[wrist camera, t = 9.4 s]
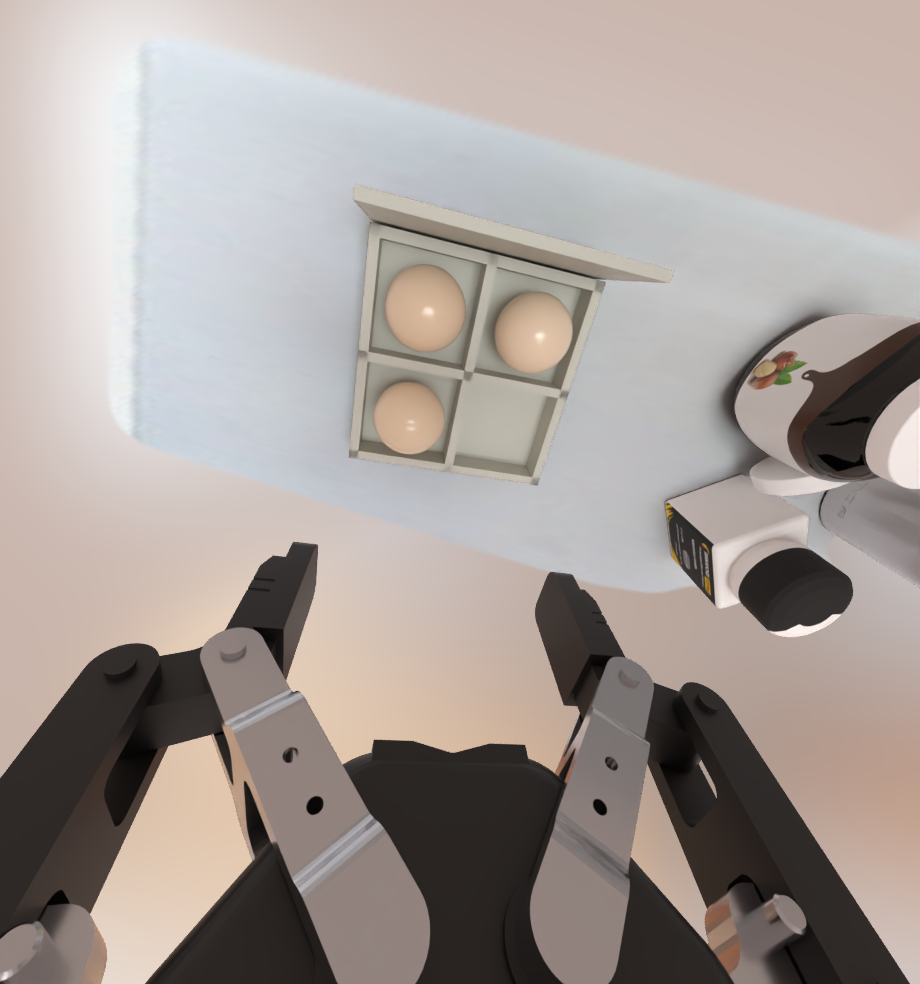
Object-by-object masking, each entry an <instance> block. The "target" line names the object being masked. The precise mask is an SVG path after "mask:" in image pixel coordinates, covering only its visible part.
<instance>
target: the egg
mask: <svg viewBox="0 0 920 984" xmlns="http://www.w3.org/2000/svg"><path fill="white" fill-rule="evenodd" d="M373 422H374V427H375V430H376V433H377V435H378V436H379V438H380V439H381V441H382V442H383V443H384V444H385V445H386V446H388V447H389V448H390V449H392V450H394V451H396V452H399V453H403V454H418V453H421V452H424V451H426V450H428V449H429V448H431V447H432V446H433V445H434V444H435V443H436V442H437V441H438V440H439V438H440V436H441V434H442V432H443V430H444V426H445V412H444V408H443V405H442V403H441V401H440V399H439V398H438V396H437V395H436V394H435V393H434V392H433V391H432V390H431V389H429V388H428V387H426V386H424V385H422V384H420V383H416V382H401V383H397V384H395V385H392V386H391V387H389V388H387V389H386V390H385V391H384V392H383V393H382V394H381V395H380V397H379V398H378V400H377V402H376V404H375V407H374V412H373Z"/></svg>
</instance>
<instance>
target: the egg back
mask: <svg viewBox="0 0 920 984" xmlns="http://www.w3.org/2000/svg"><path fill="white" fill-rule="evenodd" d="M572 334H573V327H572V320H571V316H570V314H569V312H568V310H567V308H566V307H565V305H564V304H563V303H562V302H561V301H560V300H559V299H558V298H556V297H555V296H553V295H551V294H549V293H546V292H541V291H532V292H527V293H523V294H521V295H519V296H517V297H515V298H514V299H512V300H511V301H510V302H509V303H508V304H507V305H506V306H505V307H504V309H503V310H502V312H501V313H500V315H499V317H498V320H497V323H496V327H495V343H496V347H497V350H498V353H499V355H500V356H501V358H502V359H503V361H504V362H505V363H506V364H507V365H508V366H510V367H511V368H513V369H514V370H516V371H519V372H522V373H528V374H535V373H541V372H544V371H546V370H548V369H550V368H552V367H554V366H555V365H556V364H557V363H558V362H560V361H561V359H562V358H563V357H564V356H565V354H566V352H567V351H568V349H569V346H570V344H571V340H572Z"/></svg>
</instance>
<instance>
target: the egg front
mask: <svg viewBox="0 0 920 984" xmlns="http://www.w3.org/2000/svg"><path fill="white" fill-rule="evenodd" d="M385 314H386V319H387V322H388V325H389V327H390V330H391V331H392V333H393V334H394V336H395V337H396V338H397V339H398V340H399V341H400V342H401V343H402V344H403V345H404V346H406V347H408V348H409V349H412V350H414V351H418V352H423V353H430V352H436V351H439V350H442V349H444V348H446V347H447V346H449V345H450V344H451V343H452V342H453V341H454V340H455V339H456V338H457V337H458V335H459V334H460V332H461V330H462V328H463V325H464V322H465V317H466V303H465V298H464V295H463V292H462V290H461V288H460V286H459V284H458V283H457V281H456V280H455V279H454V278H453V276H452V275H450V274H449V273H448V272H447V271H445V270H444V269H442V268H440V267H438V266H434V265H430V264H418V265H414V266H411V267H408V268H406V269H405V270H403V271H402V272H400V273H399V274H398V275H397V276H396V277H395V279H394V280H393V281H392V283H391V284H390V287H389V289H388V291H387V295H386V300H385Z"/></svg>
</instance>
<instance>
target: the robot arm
mask: <svg viewBox="0 0 920 984" xmlns="http://www.w3.org/2000/svg"><path fill="white" fill-rule="evenodd" d="M820 515H821V521H822V523H823V525H824V526H825V527H826V528H827V529H828V530H829V531H831V532H832V533H834V534H835V535H837V536H838V537H840V538H842V539H843V540H845V541H846V542H848V543H850V544H851V545H853V546H854V547H856V548H857V549H859V550H861V551H862V552H864V553H865V554H867V555H868V556H870V557H872V558H873V559H875V560H876V561H878V562H879V563H881V564H883V565H884V566H886V567H887V568H889V569H890V570H892V571H894V572H895V573H897V574H898V575H900V576H902V577H903V578H905V579H906V580H908V581H910V582H911V583H913V584H914V585H916V586H917V587H919V588H920V489H909V488H905V487H902V486H899V485H897V484H895V483H893V482H890V481H888V480H886V479H884V478H881V477H880V478H876V479H871V480H866V481H859V482H850V483H847V484H845V485H842V486H840V487H836V488H833V489H830V490H829V491H828V492H827V494H826V496H825V498H824V500H823V503H822V506H821V512H820ZM317 557H318V545H316V544H309V543H308V544H307V543H299V542H293V543H292V545H291V547H290V549H289V552H288V554H287V556H286V557H281V556H272V557H271V558H269V559H268V560H267V561H266V562H264V563H263V564H262V565H261V566H260V567H259V569H258V571H257V573H256V575H255V576H254V579H253V580H252V582H251V584H250V586H249V588H248V590H247V591H246V593H245V595H244V596H243V598H242V600H241V602H240V604H239V606H238V607H237V609H236V611H235V613H234V615H233V617H232V618H231V620H230V622H229V624H228V626H227V628H226V629H225V630H224V631H222V632H220V633H218V634H216V635H214V636H213V637H212V638H210V639H209V640H208V641H207V642H206V643H205V645H204V646H203V647H200V648H198V649H195V650H191V651H186V652H180V653H175V654H169V655H163V656H159V654H158V652H157V651H156V649H155V648H153V647H152V646H149V645H146V644H138V643H136V644H135V643H134V644H126V645H122V646H118V647H115V648H112V649H110V650H108V651H106V652H104V653H102V654H100V655H99V656H97V657H96V658H94V659H93V660H92V661H91V662H90V663H89V664H88V665H87V666H86V667H85V668H84V669H83V671H82V672H81V673H80V675H79V676H78V677H77V679H76V680H75V681H74V683H73V684H72V685H71V687H70V688H69V689H68V691H67V692H66V693H65V694H64V696H63V697H62V698H61V700H60V701H59V702H58V704H57V705H56V706H55V708H54V709H53V710H52V712H51V713H50V714H49V715H48V717H47V718H46V720H45V721H44V722H43V723H42V725H41V726H40V727H39V728H38V730H37V731H36V733H35V734H34V735H33V736H32V738H31V739H30V740H29V742H28V743H27V744H26V746H25V747H24V748H23V749H22V751H21V752H20V753H19V755H18V756H17V757H16V759H15V760H14V761H13V762H12V764H11V765H10V767H9V768H8V769H7V770H6V772H5V773H4V774H3V776H2V777H1V778H0V984H101V982H102V978H103V975H104V971H105V967H106V961H107V950H106V945H105V942H104V940H103V938H102V936H101V934H100V932H99V931H98V929H97V927H96V925H95V923H94V921H93V919H92V917H91V916H90V913H91V911H92V908H93V906H94V904H95V902H96V900H97V898H98V896H99V894H100V891H101V889H102V887H103V885H104V883H105V881H106V879H107V876H108V874H109V872H110V870H111V868H112V866H113V864H114V861H115V859H116V857H117V855H118V853H119V851H120V849H121V846H122V844H123V842H124V840H125V838H126V835H127V833H128V831H129V829H130V827H131V825H132V823H133V821H134V818H135V816H136V814H137V812H138V810H139V808H140V806H141V803H142V801H143V799H144V797H145V795H146V792H147V790H148V788H149V786H150V784H151V782H152V779H153V778H154V775H155V773H156V771H157V769H158V767H159V765H160V763H161V760H162V758H163V756H164V754H165V752H166V750H167V748H168V746H170V745H174V744H178V743H181V742H185V741H189V740H192V739H196V738H200V737H204V736H208V735H211V736H212V739H213V742H214V744H215V747H216V750H217V753H218V756H219V759H220V761H221V764H222V767H223V770H224V773H225V775H226V778H227V781H228V784H229V787H230V790H231V792H232V795H233V799H234V803H235V807H236V812H237V816H238V820H239V823H240V826H241V829H242V833H243V836H244V838H245V841H246V844H247V847H248V850H249V853H250V856H251V858H252V862H251V864H250V865H249V866H248V867H247V868H246V869H245V870H244V871H243V872H242V874H241V875H240V876H239V877H238V878H237V879H236V880H235V882H234V883H233V884H232V885H231V886H230V887H229V888H228V890H227V891H226V892H225V893H224V894H223V895H222V896H221V898H220V899H219V900H218V901H217V902H216V903H215V904H214V906H213V907H212V908H211V909H210V910H209V911H208V912H207V913H206V915H205V916H204V917H203V918H202V919H201V920H200V921H199V923H198V924H197V925H196V926H195V927H194V928H193V929H192V931H191V932H190V933H189V934H188V935H187V936H186V937H185V938H184V940H183V941H182V942H181V943H180V944H179V945H178V946H177V948H176V949H175V950H174V951H173V952H172V953H171V954H170V955H169V957H168V958H167V959H166V960H165V961H164V963H163V964H162V965H161V966H160V967H159V968H158V969H157V970H156V971H155V973H154V974H153V975H152V976H151V977H150V978H149V980H148V981H147V982H146V983H145V984H910V983H909V982H908V980H907V979H906V977H905V976H904V974H903V973H902V971H901V969H900V968H899V966H898V965H897V963H896V962H895V960H894V959H893V957H892V956H891V954H890V953H889V951H888V950H887V948H886V946H885V945H884V944H883V942H882V940H881V939H880V938H879V936H878V934H877V933H876V931H875V930H874V928H873V927H872V925H871V924H870V922H869V921H868V919H867V917H866V916H865V915H864V913H863V911H862V910H861V908H860V907H859V905H858V904H857V902H856V901H855V899H854V898H853V896H852V895H851V893H850V892H849V890H848V888H847V887H846V886H845V884H844V883H843V881H842V879H841V878H840V876H839V875H838V873H837V872H836V870H835V869H834V867H833V866H832V864H831V863H830V861H829V859H828V858H827V856H826V855H825V853H824V852H823V850H822V849H821V848H820V846H819V844H818V843H817V841H816V840H815V838H814V837H813V835H812V834H811V832H810V830H809V829H808V827H807V826H806V824H805V823H804V821H803V820H802V818H801V817H800V815H799V814H798V812H797V811H796V809H795V807H794V806H793V805H792V803H791V801H790V800H789V798H788V797H787V795H786V794H785V792H784V791H783V789H782V788H781V786H780V785H779V783H778V782H777V780H776V779H775V777H774V776H773V774H772V772H771V771H770V769H769V768H768V766H767V765H766V763H765V762H764V760H763V759H762V757H761V756H760V754H759V752H758V751H757V749H756V748H755V746H754V745H753V744H752V742H751V740H750V739H749V737H748V736H747V734H746V733H745V731H744V730H743V728H742V727H741V725H740V724H739V722H738V720H737V719H736V718H735V716H734V714H733V713H732V711H731V710H730V708H729V707H728V706H727V704H726V703H725V701H724V700H723V699H722V698H721V697H719V695H717V694H716V693H715V692H714V691H712V690H711V689H709V688H707V687H705V686H704V685H701V684H698V683H694V682H689V683H686V684H684V685H683V686H682V688H681V689H680V691H679V692H678V691H675V690H673V689H670V688H667V687H664V686H661V685H658V684H656V683H653V681H652V679H651V677H650V676H649V674H648V673H647V672H646V671H645V670H644V669H643V668H642V667H641V666H640V665H638V664H637V663H636V662H634V661H632V660H630V659H627V658H626V657H625V656H624V654H623V652H622V650H621V648H620V646H619V644H618V642H617V641H616V639H615V637H614V635H613V633H612V631H611V630H610V627H609V625H607V624H606V623H607V622H606V620H605V618H604V616H603V615H602V614H601V613H602V612H601V610H600V609H599V607H598V605H597V603H596V601H595V600H594V599H593V598H592V597H591V596H590V595H589V594H588V593H587V592H586V591H585V590H580V588H579V586H578V584H577V582H576V580H575V578H574V577H573V575H571V574H565V573H556V572H550V573H549V574H548V576H547V578H546V581H545V583H544V586H543V589H542V591H541V593H540V596H539V599H538V601H537V604H536V608H535V617H536V622H537V625H538V628H539V632H540V634H541V638H542V641H543V644H544V647H545V650H546V652H547V655H548V659H549V662H550V665H551V667H552V671H553V674H554V677H555V680H556V683H557V686H558V689H559V692H560V695H561V698H562V701H563V704H564V705H567V706H578V709H579V712H580V713H579V715H578V717H577V719H576V721H575V723H574V726H573V729H572V731H571V734H570V736H569V739H568V741H567V744H566V747H565V750H564V752H563V755H562V757H561V759H560V762H559V765H558V767H557V769H556V771H555V773H554V772H552V771H551V770H550V769H548V768H547V767H545V766H543V765H542V764H540V763H538V762H536V761H533V760H531V759H528V756H527V751H526V748H525V745H513V744H511V745H510V744H487V745H483V746H480V747H475V748H472V749H468V750H464V751H460V752H456V753H450V752H446V751H443V750H440V749H437V748H434V747H430V746H427V745H424V744H421V743H417V742H414V741H395V740H374V742H373V747H372V753H369V754H365V755H362V756H359V757H357V758H355V759H352V760H350V761H348V762H347V763H345V764H343V765H342V763H341V761H340V760H339V758H338V756H337V754H336V752H335V751H334V749H333V747H332V745H331V744H330V742H329V740H328V738H327V736H326V735H325V733H324V731H323V729H322V727H321V726H320V724H319V722H318V721H317V718H316V717H315V715H314V713H313V711H312V710H311V708H310V706H309V705H308V702H307V701H306V699H305V697H304V696H303V695H302V693H301V692H299V691H295V692H293V691H292V690H291V689H290V687H289V686H288V684H287V682H286V679H287V676H288V673H289V670H290V667H291V664H292V660H293V658H294V655H295V652H296V648H297V646H298V643H299V640H300V637H301V633H302V630H303V627H304V624H305V621H306V618H307V615H308V612H309V609H310V606H311V603H312V600H313V596H314V592H315V586H316V574H317ZM701 760H702V762H703V764H704V766H705V768H706V769H707V771H708V773H709V775H710V777H711V779H712V781H713V783H714V785H715V788H716V792H717V799H716V797H715V795H714V793H713V791H712V789H711V787H710V785H709V783H708V781H707V779H706V777H705V775H704V774H703V771H702V770H701V768H700V766H699V764H698V763H699V762H700V761H701ZM647 764H648V766H649V768H650V771H651V773H652V776H653V778H654V781H655V783H656V785H657V788H658V790H659V792H660V795H661V797H662V800H663V803H664V805H665V807H666V810H667V812H668V815H669V817H670V820H671V822H672V824H673V826H674V829H675V832H676V834H677V837H678V839H679V842H680V843H681V846H682V849H683V851H684V854H685V856H686V858H687V861H688V863H689V866H690V868H691V871H692V873H693V876H694V878H695V880H696V883H697V885H698V888H699V890H700V893H701V895H702V898H703V900H704V902H705V905H706V907H707V911H706V915H705V929H706V935H707V938H708V941H709V943H708V944H707V943H706V942H705V941H704V940H703V939H702V938H701V936H699V934H698V933H697V932H696V931H695V930H694V929H693V927H692V926H691V925H690V924H689V923H688V922H687V920H686V919H685V918H684V917H683V916H682V915H681V914H680V913H679V911H678V910H677V909H676V908H675V907H674V906H673V905H672V903H671V902H670V901H669V900H668V899H667V898H666V897H665V895H664V894H663V893H662V892H661V891H660V890H659V889H658V887H657V886H656V885H655V884H654V883H653V882H652V881H651V880H650V878H649V877H648V876H647V875H646V874H645V873H644V872H643V870H642V869H641V868H640V867H639V866H638V865H637V864H636V862H635V861H634V860H633V859H632V858H631V857H630V856H631V850H632V845H633V840H634V834H635V828H636V823H637V817H638V812H639V806H640V800H641V795H642V789H643V784H644V778H645V772H646V766H647Z"/></svg>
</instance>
